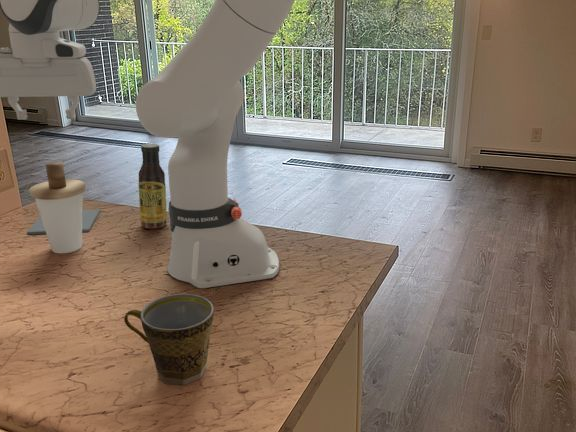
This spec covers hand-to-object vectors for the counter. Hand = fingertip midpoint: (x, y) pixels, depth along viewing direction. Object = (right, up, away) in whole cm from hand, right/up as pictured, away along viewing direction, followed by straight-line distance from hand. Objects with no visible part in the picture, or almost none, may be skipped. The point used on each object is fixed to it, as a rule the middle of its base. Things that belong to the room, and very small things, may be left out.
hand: (47, 118), depth 112 cm
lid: (0, -14, +5) cm, 15 cm away
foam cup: (0, -27, +10) cm, 29 cm away
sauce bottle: (+17, -22, +22) cm, 35 cm away
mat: (-6, -21, +24) cm, 33 cm away
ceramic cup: (+32, -42, -32) cm, 62 cm away
